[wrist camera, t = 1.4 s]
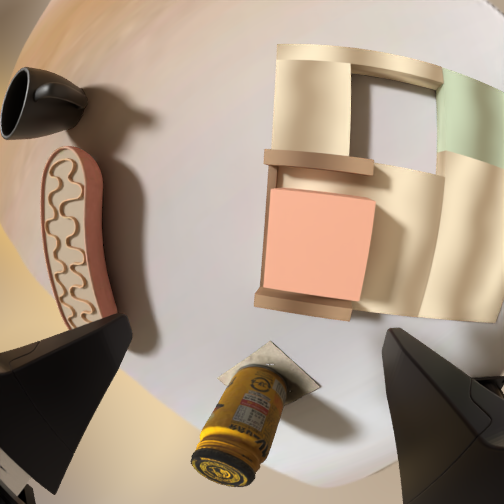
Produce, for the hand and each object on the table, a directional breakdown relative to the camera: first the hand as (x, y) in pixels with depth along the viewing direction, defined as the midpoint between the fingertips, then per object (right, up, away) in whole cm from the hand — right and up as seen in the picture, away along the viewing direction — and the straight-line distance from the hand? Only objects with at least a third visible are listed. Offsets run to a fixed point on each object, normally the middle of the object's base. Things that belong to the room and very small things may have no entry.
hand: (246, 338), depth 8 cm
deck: (+13, +8, +10) cm, 18 cm away
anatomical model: (-18, +4, +20) cm, 28 cm away
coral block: (+5, +4, +11) cm, 13 cm away
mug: (-20, +20, +16) cm, 33 cm away
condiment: (+2, -11, +18) cm, 21 cm away
